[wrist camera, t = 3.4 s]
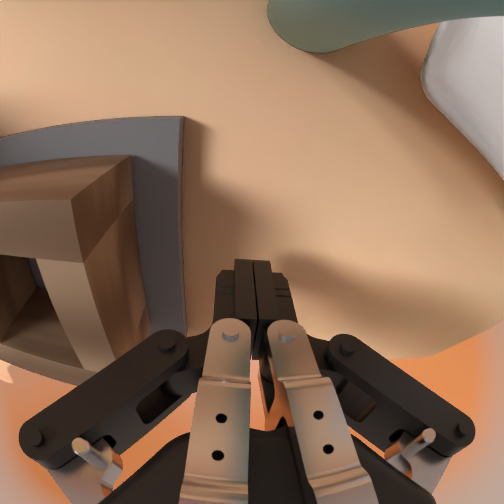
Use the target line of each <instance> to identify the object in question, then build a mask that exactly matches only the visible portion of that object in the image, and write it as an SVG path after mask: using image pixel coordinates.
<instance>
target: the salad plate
mask: <svg viewBox="0 0 504 504" xmlns="http://www.w3.org/2000/svg"><path fill="white" fill-rule="evenodd" d="M420 80H421V86H422V88H423V91H424V93H425V95H426V97H427V98H428V99H429V101H430V102H431V103H432V104H433V105H434V106H435V107H436V108H437V109H438V110H439V111H440V112H441V113H442V114H443V115H444V116H445V117H446V118H447V119H448V120H449V121H450V122H451V123H452V124H453V125H454V126H455V127H456V128H457V129H458V130H459V131H460V132H461V133H462V134H463V135H464V136H465V137H466V138H467V139H468V140H469V141H470V142H471V143H472V144H473V146H474V147H475V148H476V149H477V150H478V151H479V152H480V153H481V154H482V155H483V156H484V157H485V159H486V160H487V161H488V162H489V163H490V164H491V165H492V167H493V168H494V169H495V170H496V171H497V173H498V174H499V175H500V177H501V178H502V179H503V181H504V16H492V17H476V18H466V19H457V20H450V21H443V22H440V24H439V26H438V28H437V30H436V32H435V34H434V37H433V39H432V41H431V43H430V46H429V49H428V52H427V54H426V57H425V59H424V62H423V64H422V67H421V71H420Z"/></svg>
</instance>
